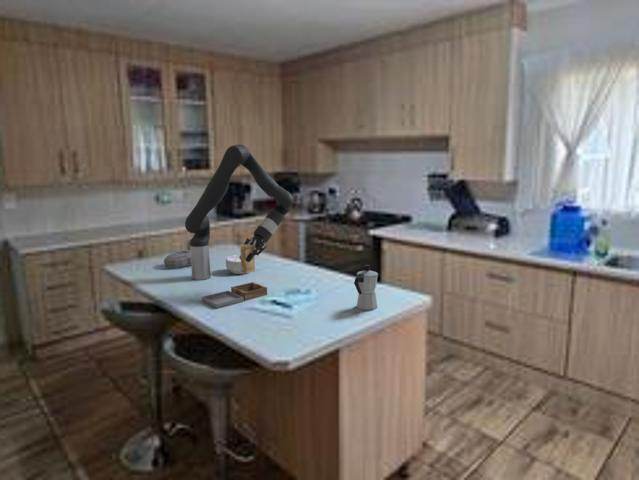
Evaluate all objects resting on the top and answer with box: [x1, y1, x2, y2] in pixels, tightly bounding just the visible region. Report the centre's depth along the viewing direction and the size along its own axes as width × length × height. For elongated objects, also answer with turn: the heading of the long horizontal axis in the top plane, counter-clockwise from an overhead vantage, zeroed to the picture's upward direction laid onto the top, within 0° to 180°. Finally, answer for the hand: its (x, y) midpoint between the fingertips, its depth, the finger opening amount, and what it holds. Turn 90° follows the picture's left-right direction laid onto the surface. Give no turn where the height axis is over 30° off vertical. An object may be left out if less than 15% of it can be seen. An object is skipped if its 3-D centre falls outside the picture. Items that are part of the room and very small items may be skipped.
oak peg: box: [239, 244, 256, 274], centre depth 202 cm, size 4×4×12 cm
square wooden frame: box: [230, 281, 268, 302], centre depth 205 cm, size 12×12×4 cm
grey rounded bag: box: [163, 249, 191, 270], centre depth 257 cm, size 15×8×20 cm
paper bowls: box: [225, 254, 246, 275], centre depth 243 cm, size 15×15×8 cm
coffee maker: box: [353, 264, 379, 311], centre depth 185 cm, size 15×9×18 cm, turn 141°
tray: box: [201, 290, 245, 310], centre depth 196 cm, size 13×13×2 cm
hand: (244, 260), depth 200 cm, fingers closed on oak peg, 4 cm apart
